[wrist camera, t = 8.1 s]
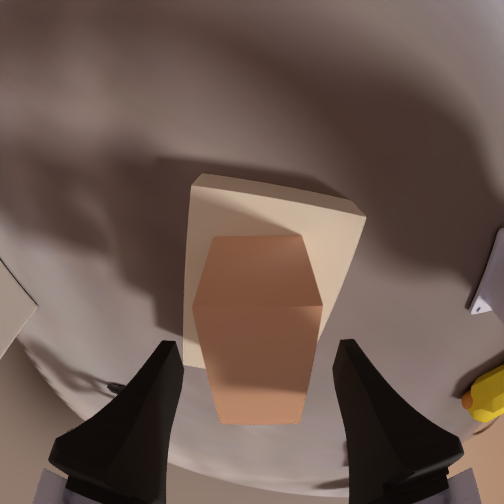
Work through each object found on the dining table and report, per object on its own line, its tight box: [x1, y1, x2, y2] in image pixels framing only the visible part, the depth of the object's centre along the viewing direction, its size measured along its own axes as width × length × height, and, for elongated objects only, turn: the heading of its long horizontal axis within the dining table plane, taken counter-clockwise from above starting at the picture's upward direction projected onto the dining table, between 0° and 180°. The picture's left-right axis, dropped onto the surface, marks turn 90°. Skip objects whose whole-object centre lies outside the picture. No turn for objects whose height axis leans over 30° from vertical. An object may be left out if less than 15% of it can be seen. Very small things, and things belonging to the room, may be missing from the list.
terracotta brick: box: [192, 235, 323, 425], centre depth 12 cm, size 4×8×5 cm, turn 2°
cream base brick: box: [183, 173, 367, 369], centre depth 16 cm, size 8×12×3 cm, turn 170°
